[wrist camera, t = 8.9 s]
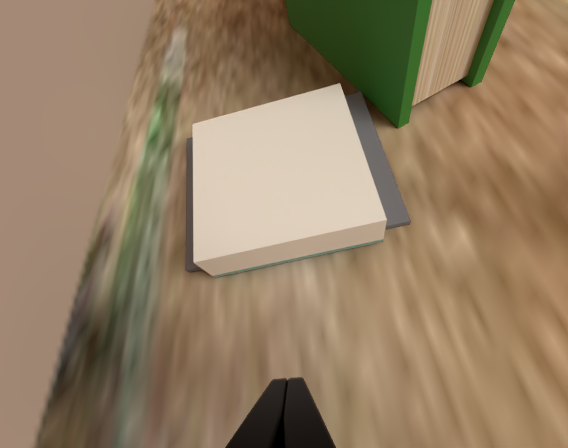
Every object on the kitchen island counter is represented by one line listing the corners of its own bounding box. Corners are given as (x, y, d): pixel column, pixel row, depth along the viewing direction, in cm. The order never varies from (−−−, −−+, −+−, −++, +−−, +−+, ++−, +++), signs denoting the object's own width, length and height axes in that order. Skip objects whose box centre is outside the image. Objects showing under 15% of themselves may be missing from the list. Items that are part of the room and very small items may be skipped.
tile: (386, 219, 17) (340, 83, 22) (193, 262, 18) (192, 123, 23) (383, 241, 19) (342, 115, 24) (214, 277, 21) (209, 150, 26)
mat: (409, 224, 20) (410, 220, 19) (189, 272, 22) (186, 270, 21) (360, 96, 26) (360, 91, 25) (189, 142, 27) (186, 138, 27)
